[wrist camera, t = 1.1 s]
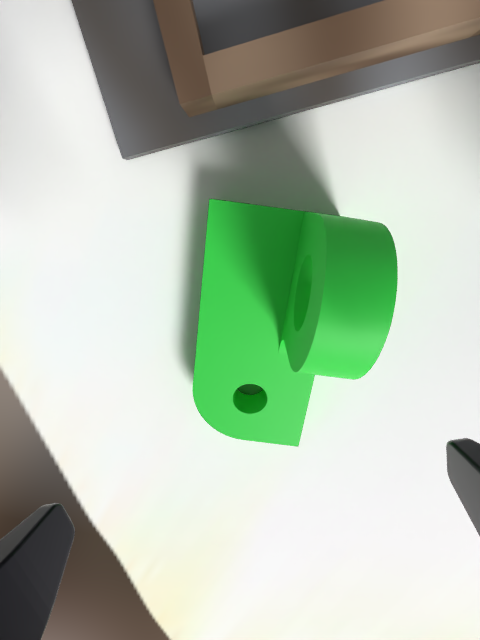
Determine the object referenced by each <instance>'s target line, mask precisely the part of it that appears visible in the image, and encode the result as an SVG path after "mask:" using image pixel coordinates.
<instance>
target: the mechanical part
mask: <svg viewBox="0 0 480 640" xmlns="http://www.w3.org/2000/svg"><path fill="white" fill-rule="evenodd" d="M396 292H397V256H396V250H395V245H394V241H393V238H392V236H391V233H390V232H389V230H388V228H387V227H386V226H385V225H383V224H382V223H378V222H372V221H367V220H361V219H355V218H349V217H343V216H336V215H328V214H321V213H314V212H306V211H299V210H291V209H284V208H276V207H269V206H261V205H254V204H246V203H239V202H231V201H224V200H216V199H209V209H208V220H207V231H206V243H205V254H204V265H203V277H202V288H201V299H200V311H199V322H198V333H197V344H196V356H195V367H194V378H193V397H194V401H195V404H196V407H197V409H198V411H199V413H200V414H201V416H202V417H203V418H204V420H205V421H206V422H207V423H208V424H209V425H210V426H212V427H213V428H214V429H216V430H217V431H219V432H221V433H222V434H225V435H227V436H230V437H233V438H236V439H242V440H249V441H257V442H265V443H273V444H282V445H290V446H298V445H299V441H300V437H301V432H302V428H303V424H304V419H305V415H306V411H307V406H308V402H309V398H310V393H311V389H312V385H313V380H314V376H315V375H322V376H330V377H338V378H346V379H358V378H361V377H362V376H364V375H365V374H366V373H367V372H368V371H369V370H370V369H371V368H372V366H373V365H374V363H375V362H376V360H377V358H378V356H379V355H380V352H381V350H382V348H383V346H384V343H385V341H386V338H387V335H388V332H389V329H390V325H391V322H392V317H393V312H394V307H395V301H396ZM245 384H255V385H258V386H260V387H261V388H263V390H262V391H260V392H259V393H257V394H254V395H247V394H244V393H241V392H240V391H239V390H238V389H237V388H239V387H240V386H242V385H245Z"/></svg>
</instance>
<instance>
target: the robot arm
mask: <svg viewBox="0 0 480 640" xmlns="http://www.w3.org/2000/svg"><path fill="white" fill-rule="evenodd" d="M446 450H447V472H448V476H449V479H450V481H451V483H452V485H453V487H454V489H455V491H456V493H457V495H458V496H459V498H460V500H461V502H462V504H463V506H464V508H465V510H466V511H467V513H468V515H469V517H470V519H471V521H472V523H473V525H474V526H475V528H476V530H477V532H478V534H479V536H480V444H479V443H477V442H475V441H473V440H471V439H468V438H463V439H457V440H451V441H449V442H448V443H447V446H446ZM74 533H75V529H74V526H73V523H72V521H71V520H70V518H69V516H68V514H67V513H66V510H65V509H64V507H63V506H62V505H61V504H60V503H54V504H47V505H43V506H41V507H40V508H38V509H37V510H36V511H35V512H34V513H32V514H31V515H30V516H29V517H28V518H26V519H25V520H24V521H22V522H21V523H20V524H19V525H18V526H16V527H15V528H14V529H13V530H11V531H10V532H9V533H8V534H7V535H5V536H4V537H3V538H2V539H0V640H41V638H42V636H43V633H44V631H45V628H46V625H47V623H48V620H49V617H50V614H51V612H52V608H53V605H54V602H55V599H56V596H57V593H58V589H59V586H60V582H61V579H62V576H63V572H64V569H65V566H66V562H67V559H68V556H69V553H70V549H71V546H72V543H73V539H74Z"/></svg>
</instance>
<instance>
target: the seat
mask: <svg viewBox="0 0 480 640" xmlns="http://www.w3.org/2000/svg"><path fill="white" fill-rule="evenodd" d="M72 3H73V6H74V9H75V12H76V15H77V19H78V22H79V25H80V28H81V31H82V34H83V37H84V40H85V43H86V47H87V50H88V53H89V56H90V59H91V62H92V65H93V68H94V71H95V75H96V78H97V81H98V84H99V87H100V90H101V93H102V96H103V99H104V102H105V106H106V109H107V112H108V115H109V118H110V121H111V124H112V127H113V130H114V134H115V137H116V140H117V143H118V146H119V149H120V152H121V155H122V158H123V159H126V160H129V159H133V158H136V157H140V156H144V155H147V154H151V153H154V152H158V151H162V150H165V149H169V148H172V147H176V146H180V145H183V144H187V143H191V142H194V141H198V140H201V139H205V138H209V137H212V136H216V135H219V134H223V133H227V132H230V131H234V130H238V129H241V128H245V127H248V126H252V125H256V124H259V123H263V122H266V121H270V120H274V119H277V118H281V117H285V116H288V115H292V114H295V113H299V112H303V111H306V110H310V109H313V108H317V107H321V106H324V105H328V104H332V103H335V102H339V101H342V100H346V99H350V98H353V97H357V96H360V95H364V94H368V93H371V92H375V91H379V90H382V89H386V88H389V87H393V86H397V85H400V84H404V83H407V82H411V81H415V80H418V79H422V78H426V77H429V76H433V75H436V74H440V73H444V72H447V71H451V70H454V69H458V68H462V67H465V66H469V65H473V64H476V63H480V0H72Z"/></svg>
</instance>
